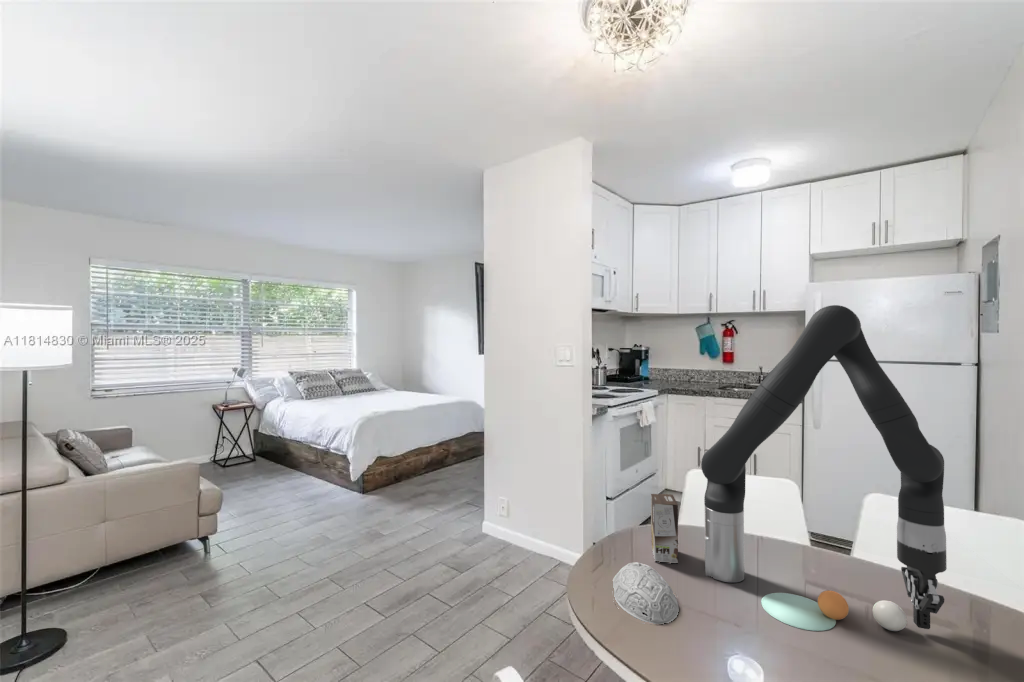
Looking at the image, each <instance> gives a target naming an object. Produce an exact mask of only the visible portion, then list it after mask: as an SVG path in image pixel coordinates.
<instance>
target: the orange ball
mask: <svg viewBox="0 0 1024 682" xmlns="http://www.w3.org/2000/svg"><path fill="white" fill-rule="evenodd" d="M817 603H818V605H819V608H820V610H821V611H822V612H823V613H824V614H825V615H826V616H828V617H829V618H832V619H836V621H837V620H838V621H839V620H844V619H845V618H846V617H847V616H848V614H849V612H850V611H849V610H850V608H849V604H848V602H847V599H846V598H845V597H843V595H842V594H840V593H839V592H837V591H834V590H831V589H830V590H824V591H822V592H820V593H819V595H818V596H817Z"/></svg>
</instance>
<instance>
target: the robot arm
mask: <svg viewBox="0 0 1024 682" xmlns="http://www.w3.org/2000/svg"><path fill="white" fill-rule="evenodd" d="M833 357H835V358H836V360H837V361H838V362H839V364H840V365H841V366H842V368H843V370H844V372H845V374H846V375H847V376H848V379H849V381H850V383H851V385H852V388H853V389H854V392H855V393H856V395H857V397H858V400H859V401H860V403H861V405H862V407H863V408H864V410H865V412H866V413H867V415H868V417H869V418H870V420H871V423H873V425H874V426H875V428H876V430H877V431H878V432H879V433H880V435H881V437H882V439H883V442H884V444H885V447H886V449H887V451H888V453H889V455H890V457H891V460H892V461H893V464H894V465H895V466H896V467H897V469H898V470H899V472H900V489H899V493H898V499H897V506H898V507H897V512H898V514H897V515H898V518H897V523H896V524H897V525H896V558H897V560H898V561H899V562H900V563H901V564H903V565H904V566H901V568H900V571H901V573H902V579H903V582H904V585H905V590H906V594H907V597H908V598H910V599H911V600H910V603H911V605H912V607H913V608H912V609H913V623H914V624H915V625H916V627H917V628H918V629H924V630H930V629H931V614H938V612H939V611H940V609H941V608H942V606H943V605H944V603H945V598H944V596H943V595H940V594H939V593H938V592H937V589H938V588H939V582H938V579H937V576H936V575H937V574H939V573H944V572H946V571H947V535H946V529H945V528H946V527H945V507H944V506H945V505H944V497H943V490H944V479H945V478H944V476H945V458H944V455H943V454H942V452H941V451H940V450H939V449H938V448H937V447H935V446H934V445H932V444H930V443H929V442H928V440H927V438H926V437H925V436H924V434H923V432H922V431H921V429H920V427H919V426H920V425H919V422H918V420H917V417H916V416H915V414H914V413H913V411H912V410H911V408H910V406H909V405H908V403H907V401H906V400H905V399H904V397H903V396H902V394H901V393H900V391H899V390H898V388H897V387H896V386H895V384H894V383H893V382H892V380H891V379H890V378H889V377H888V375H887V374H886V372H885V371H884V369H883V368H882V366H881V365H880V364H879V362H878V361H877V358H876V357H875V356H874V353H873V352H872V349H870V346H869V344H868V342H867V340H866V338H865V334H864V332H863V328H862V324H861V320H860V318H859V317H858V315H857V314H856V313H855V312H854V311H853V310H852V309H850V308H849V307H846V306H843V305H839V304H836V305H835V304H834V305H827V306H824V307H822V308H820V309H818V310H817V311H816V312H814V314H813V315H812V316H811V317H810V319H809V321H808V322H807V324H806V326H805V327H804V329H803V330H802V332H801V334H800V335H799V337H798V338H797V340H796V342H795V343H794V344H793V346H792V347H791V349H790V350H789V351H788V353H787V354H786V355H785V356H784V357H783V358H782V359H781V360H780V361H779V362H778V363H777V364H776V366H774V367H773V369H772V370H771V371H770V372H769V373H768V374H767V376H766V377H765V378H764V379H763V380H762V381H761V382H760V383H759V385H758V386H757V388H756V389H755V390H754V391H753V392H752V393H751V395H750V396H749V398H748V399H747V400H746V402H745V404H744V405H743V407H742V408H741V410H740V411H739V412H738V415H736V418H735V419H734V421H733V423H732V424H731V426H730V427H729V429H728V430H727V431H726V432H725V433H724V434H723V435H722V436H721V438H719V439H718V440H717V441H716V443H714V444H713V445H712V446H711V447H710V448H709V449H708V450H707V451H705V453H704V454H703V455H702V458H701V463H700V466H701V471H702V473H703V475H704V477H705V478H706V479H707V480H706V481H707V482H706V489H705V493H704V574H705V576H706V577H710V576H711V577H710V578H712V577H713V578H712V579H714V578H715V580H718V581H721V582H725V583H730V584H731V583H740V582H742V581H744V579H745V572H746V570H745V525H744V524H745V513H744V512H745V508H744V506H745V498H746V474H747V473H746V463H747V462H748V460H749V459H750V458H751V456H752V454H753V453H754V452H755V451H756V449H757V448H759V446H761V444H763V443H764V441H766V440H767V439H768V438H769V437H770V436H771V435H773V434H774V433H775V431H777V430H778V429H779V428H780V427H781V426H782V425H783V424H784V423H785V422H786V421H787V420H788V419H789V417H790V416H791V415H792V414H793V413H794V412H795V410H796V409H797V408H798V407H799V406H800V404H801V403H802V402H803V400H804V399H805V397H806V396H807V394H808V392H809V391H810V389H811V387H812V386H813V385H814V381H815V380H816V378H817V376H818V375H819V373H820V372H821V371H822V369H823V368H824V367H825V365H827V363H829V361H830V360H831V359H832V358H833Z"/></svg>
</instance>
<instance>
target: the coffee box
mask: <svg viewBox="0 0 1024 682" xmlns="http://www.w3.org/2000/svg"><path fill="white" fill-rule="evenodd" d="M650 519H651V520H650V528H651V529H650V531H651V532H650V533H651V535H650V536H651V551H653V552H652V555H654V556H653V559H655V560H654V562H655V561H661V562H671V563H678V564H679V504H678V502H677V500H676V498H675V496H674V494H670V493H669V494H668V493H650ZM671 563H670V564H671Z"/></svg>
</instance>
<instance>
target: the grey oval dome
mask: <svg viewBox="0 0 1024 682" xmlns="http://www.w3.org/2000/svg"><path fill="white" fill-rule="evenodd" d="M621 567H622V568H620V570H619V571H618V572H617V573H616V574H615V576H614V577H613V578H612V581H613V588H614V597H615V600H616V602H617V603H618V605H619V606H620V607H621V608H622V609H623V610H624V611H626V612H627V613H628V614H630V615H631V616H633V617H634V618H636V619H639V620H641V621H644V622H649V623H653V624H663V623H668V624H670V623H672V622H673V620H674V619H675V618H676V619H677V617H678V616H679V613H678V612H679V611H680V610H679V609H680V606H679V602H678V599H676V597H675V595H674V594H673V592H674V591H673V589H672V588H671V586H670V585H669V583H668V582H667V581H666V580H665V579H664V577H663V576H662V575H661V574H660V573H659V572H658V571H657V570H656V569H654V568H653V567H652V566H651V565H647V564H646V563H645V564H644V563H641V562H638V561H635V562H633V561H632V562H629V563H627V564H625V565H624V566H621ZM643 613H644V614H643ZM677 615H678V616H677ZM676 619H675V620H676ZM675 620H674V621H675ZM671 621H672V622H671ZM669 622H670V623H669ZM663 625H664V624H663Z"/></svg>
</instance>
